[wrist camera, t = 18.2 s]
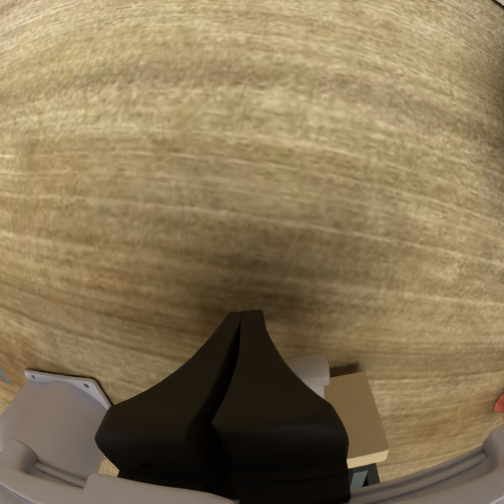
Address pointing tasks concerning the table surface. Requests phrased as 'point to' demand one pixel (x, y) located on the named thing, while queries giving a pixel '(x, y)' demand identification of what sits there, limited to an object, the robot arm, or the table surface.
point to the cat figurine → (500, 405)
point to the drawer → (347, 411)
